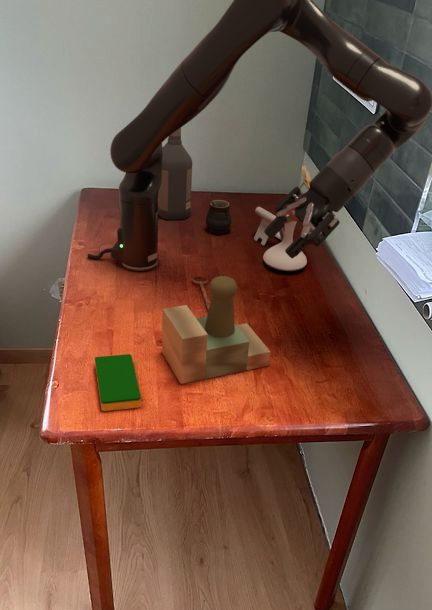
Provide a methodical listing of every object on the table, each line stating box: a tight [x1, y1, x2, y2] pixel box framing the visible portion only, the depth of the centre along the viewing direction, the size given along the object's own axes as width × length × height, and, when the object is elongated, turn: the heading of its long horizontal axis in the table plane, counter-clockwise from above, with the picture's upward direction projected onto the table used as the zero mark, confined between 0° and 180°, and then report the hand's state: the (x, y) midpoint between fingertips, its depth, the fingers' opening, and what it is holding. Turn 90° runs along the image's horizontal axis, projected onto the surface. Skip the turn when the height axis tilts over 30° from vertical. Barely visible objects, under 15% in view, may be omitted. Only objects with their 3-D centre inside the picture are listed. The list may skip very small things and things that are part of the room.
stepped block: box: [161, 304, 271, 385], centre depth 122 cm, size 19×11×10 cm, turn 113°
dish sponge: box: [94, 353, 142, 412], centre depth 116 cm, size 7×14×2 cm, turn 13°
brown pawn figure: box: [205, 275, 238, 338], centre depth 118 cm, size 6×6×11 cm
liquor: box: [158, 127, 193, 221], centre depth 172 cm, size 9×9×30 cm
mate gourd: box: [205, 199, 233, 235], centre depth 171 cm, size 7×8×10 cm
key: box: [191, 276, 211, 311], centre depth 146 cm, size 6×1×15 cm
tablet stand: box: [253, 206, 285, 246], centre depth 169 cm, size 9×8×8 cm
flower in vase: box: [262, 165, 312, 272], centre depth 153 cm, size 13×11×25 cm
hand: (277, 245), depth 115 cm, fingers open, 8 cm apart
